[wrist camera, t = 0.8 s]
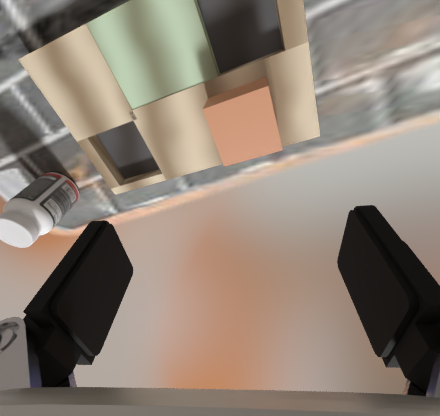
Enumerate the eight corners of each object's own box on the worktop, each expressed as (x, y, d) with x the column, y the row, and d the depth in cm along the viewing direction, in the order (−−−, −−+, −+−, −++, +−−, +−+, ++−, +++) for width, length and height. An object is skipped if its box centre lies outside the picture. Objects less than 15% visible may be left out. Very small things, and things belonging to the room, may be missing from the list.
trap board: (288, -78, 19) (292, -87, 17) (315, 129, 28) (320, 136, 27) (32, 57, 26) (18, 59, 25) (120, 186, 36) (115, 194, 34)
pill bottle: (38, 190, 37) (-18, 235, 29) (45, 163, 34) (-15, 206, 26) (75, 209, 39) (32, 257, 31) (85, 185, 36) (40, 231, 28)
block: (265, 77, 24) (268, 85, 21) (278, 134, 27) (282, 150, 24) (207, 98, 25) (202, 109, 22) (226, 150, 29) (224, 166, 25)
